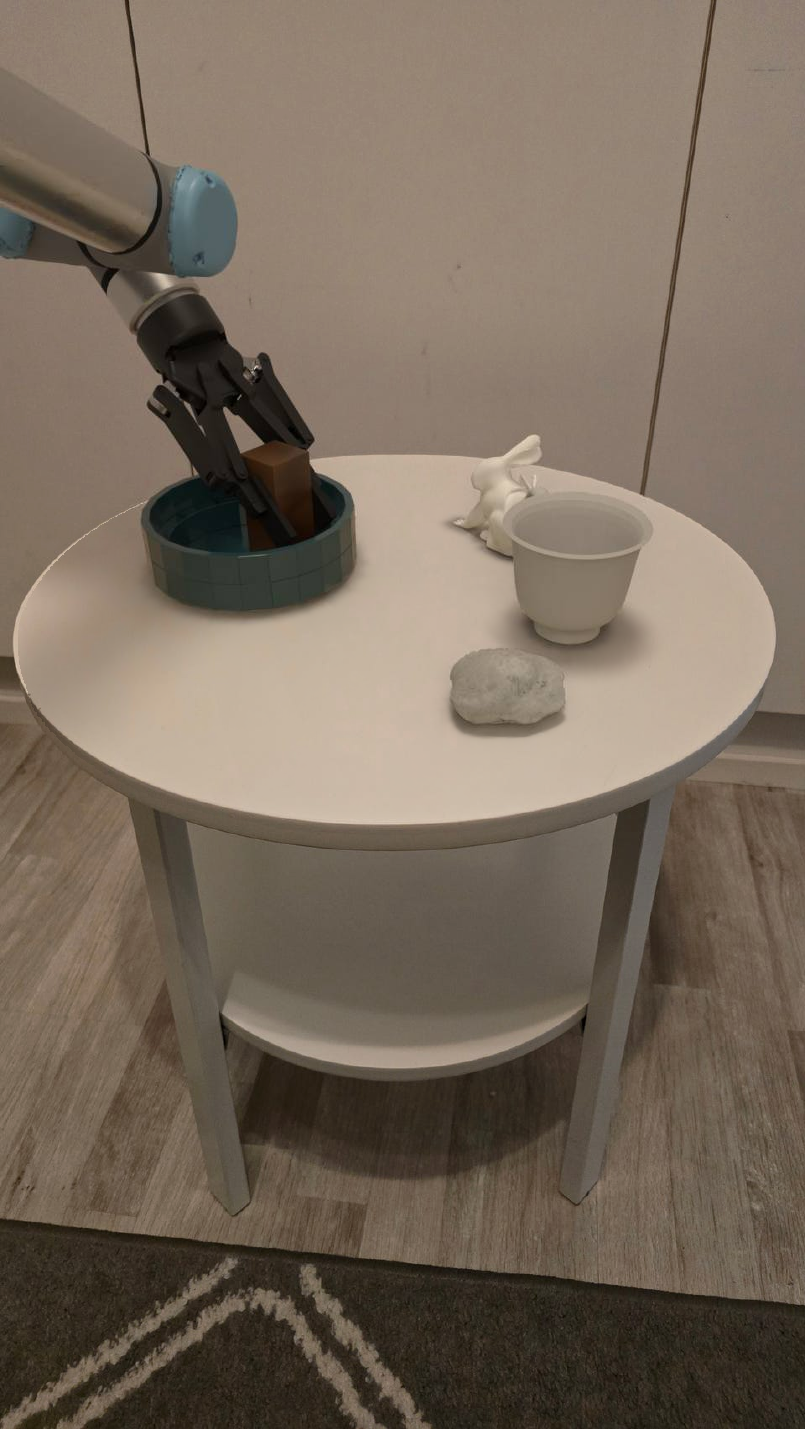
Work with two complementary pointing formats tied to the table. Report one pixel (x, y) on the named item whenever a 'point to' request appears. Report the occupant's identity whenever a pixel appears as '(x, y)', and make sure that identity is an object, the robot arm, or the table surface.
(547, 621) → the teacup
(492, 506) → the rabbit figurine
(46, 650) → the table surface
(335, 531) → the bowl
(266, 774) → the table surface
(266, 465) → the walnut block
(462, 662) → the pebble
